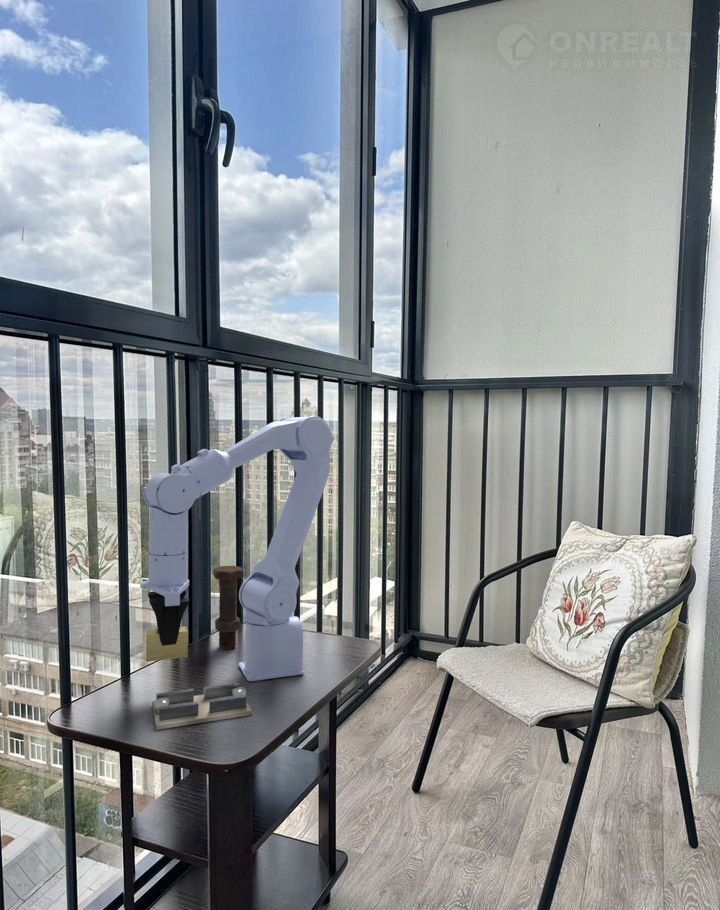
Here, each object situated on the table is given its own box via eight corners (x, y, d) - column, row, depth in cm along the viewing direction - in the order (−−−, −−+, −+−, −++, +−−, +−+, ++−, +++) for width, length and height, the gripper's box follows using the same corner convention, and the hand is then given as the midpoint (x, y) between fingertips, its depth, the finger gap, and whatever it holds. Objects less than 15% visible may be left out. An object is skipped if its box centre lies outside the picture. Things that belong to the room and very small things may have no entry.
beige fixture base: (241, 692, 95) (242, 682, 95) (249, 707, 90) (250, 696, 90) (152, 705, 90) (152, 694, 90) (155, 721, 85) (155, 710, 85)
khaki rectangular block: (185, 651, 97) (185, 626, 97) (187, 657, 95) (187, 631, 94) (145, 655, 95) (145, 630, 95) (145, 661, 92) (146, 635, 92)
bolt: (231, 640, 121) (231, 564, 120) (248, 646, 117) (249, 568, 117) (206, 648, 116) (207, 568, 116) (223, 654, 113) (224, 572, 112)
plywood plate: (240, 693, 96) (240, 689, 96) (251, 714, 89) (251, 710, 89) (152, 705, 91) (152, 701, 91) (156, 729, 84) (156, 725, 84)
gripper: (138, 545, 100) (138, 629, 100) (143, 563, 86) (142, 660, 86) (184, 543, 102) (183, 625, 103) (195, 560, 89) (194, 654, 89)
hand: (167, 641), depth 95 cm, fingers closed on khaki rectangular block, 3 cm apart
